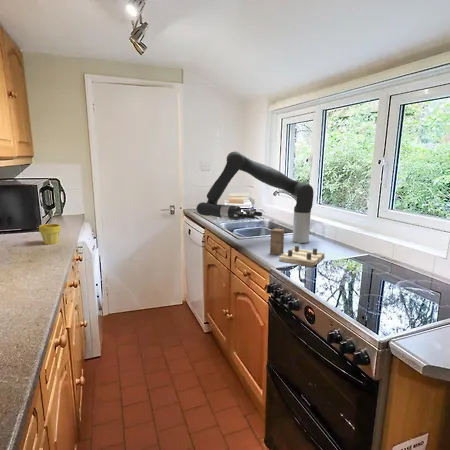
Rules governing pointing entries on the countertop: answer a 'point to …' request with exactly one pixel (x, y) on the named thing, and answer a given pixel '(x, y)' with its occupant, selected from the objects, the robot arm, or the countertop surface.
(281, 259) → the wooden peg board
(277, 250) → the walnut block
